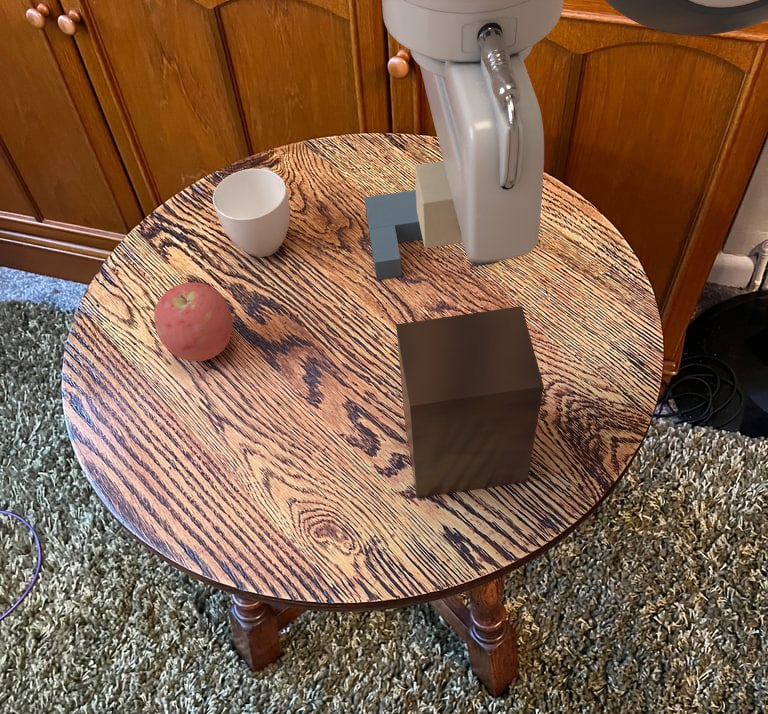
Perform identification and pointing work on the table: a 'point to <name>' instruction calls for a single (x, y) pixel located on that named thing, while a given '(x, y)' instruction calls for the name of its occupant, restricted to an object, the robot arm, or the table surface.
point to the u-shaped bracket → (392, 230)
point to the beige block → (435, 206)
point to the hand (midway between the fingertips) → (467, 210)
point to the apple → (193, 321)
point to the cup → (253, 210)
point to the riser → (469, 400)
